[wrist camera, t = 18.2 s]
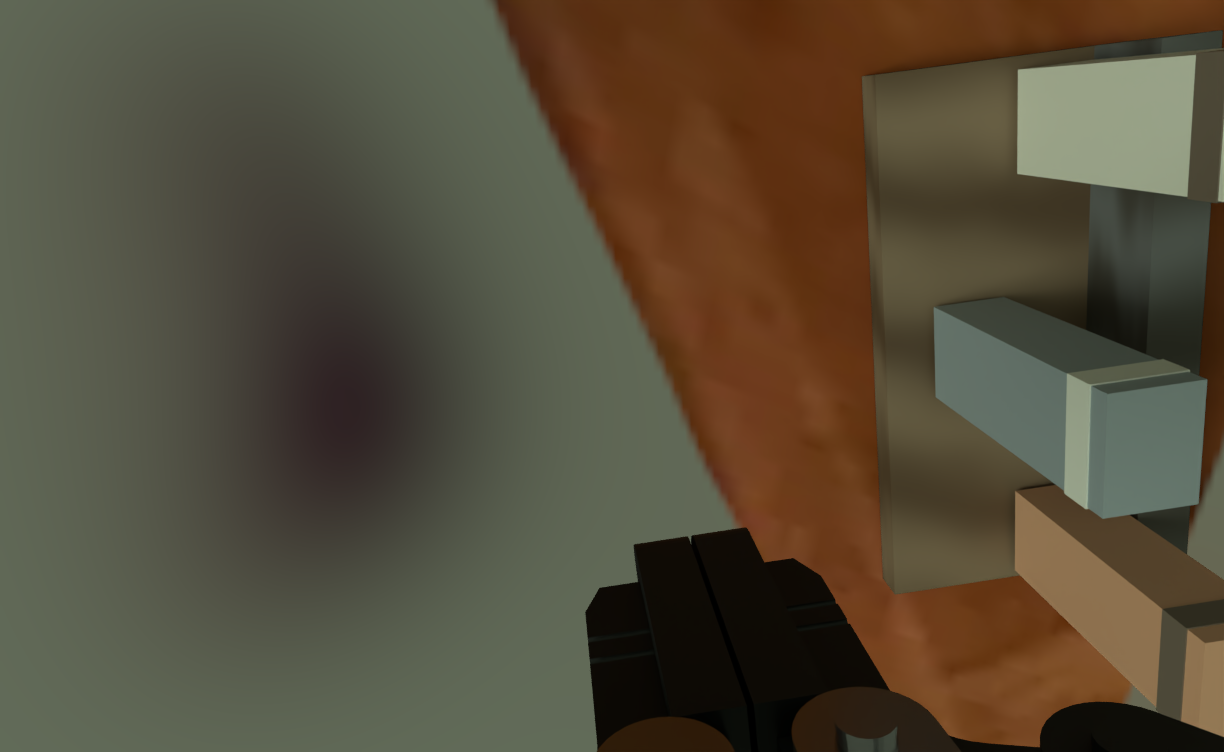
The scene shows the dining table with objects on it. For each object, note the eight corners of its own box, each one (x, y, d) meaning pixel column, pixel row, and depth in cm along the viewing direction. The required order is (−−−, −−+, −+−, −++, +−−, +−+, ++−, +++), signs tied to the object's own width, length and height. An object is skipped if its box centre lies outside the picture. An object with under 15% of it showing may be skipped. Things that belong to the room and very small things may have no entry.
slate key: (932, 305, 37) (1105, 392, 26) (1005, 295, 38) (1209, 377, 26) (934, 398, 39) (1101, 520, 27) (1004, 388, 39) (1200, 505, 27)
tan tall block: (1014, 489, 40) (1203, 642, 29) (1081, 480, 40) (1296, 627, 29) (1013, 571, 41) (1195, 748, 30) (1079, 561, 42) (1284, 733, 30)
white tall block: (1016, 68, 35) (1249, 48, 23) (1093, 58, 35) (1362, 33, 24) (1016, 175, 36) (1236, 206, 25) (1090, 165, 36) (1345, 190, 25)
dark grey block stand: (861, 76, 36) (916, 70, 31) (1125, 41, 37) (1222, 30, 31) (883, 578, 43) (930, 643, 38) (1105, 544, 43) (1183, 603, 38)
